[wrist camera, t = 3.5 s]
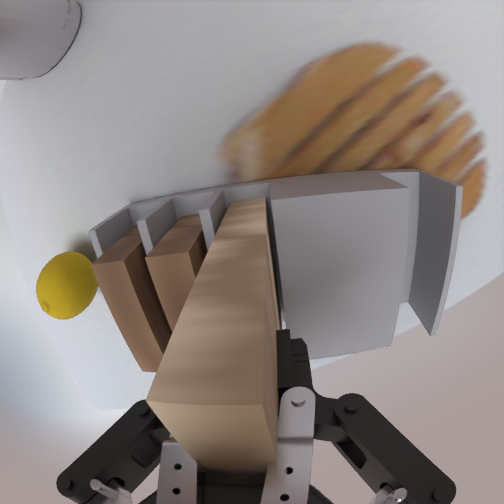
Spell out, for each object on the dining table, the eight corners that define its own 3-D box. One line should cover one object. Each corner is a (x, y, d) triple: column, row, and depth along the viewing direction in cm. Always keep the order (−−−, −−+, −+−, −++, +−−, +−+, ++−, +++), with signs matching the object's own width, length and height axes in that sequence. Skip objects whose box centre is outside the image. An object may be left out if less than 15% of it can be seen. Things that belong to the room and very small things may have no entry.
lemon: (94, 231, 23) (42, 272, 15) (120, 281, 25) (79, 332, 17) (61, 248, 24) (13, 286, 16) (85, 292, 26) (46, 338, 18)
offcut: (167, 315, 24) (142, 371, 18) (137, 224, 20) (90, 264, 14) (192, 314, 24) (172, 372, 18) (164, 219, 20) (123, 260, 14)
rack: (167, 319, 26) (146, 365, 20) (130, 203, 21) (88, 231, 15) (407, 292, 24) (435, 334, 18) (416, 168, 19) (462, 185, 13)
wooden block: (252, 314, 24) (236, 501, 9) (231, 201, 19) (145, 400, 5) (280, 312, 23) (287, 500, 9) (266, 197, 19) (262, 404, 5)
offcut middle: (207, 313, 24) (190, 373, 17) (181, 216, 20) (144, 257, 14) (235, 311, 23) (225, 373, 17) (213, 211, 20) (188, 252, 13)
